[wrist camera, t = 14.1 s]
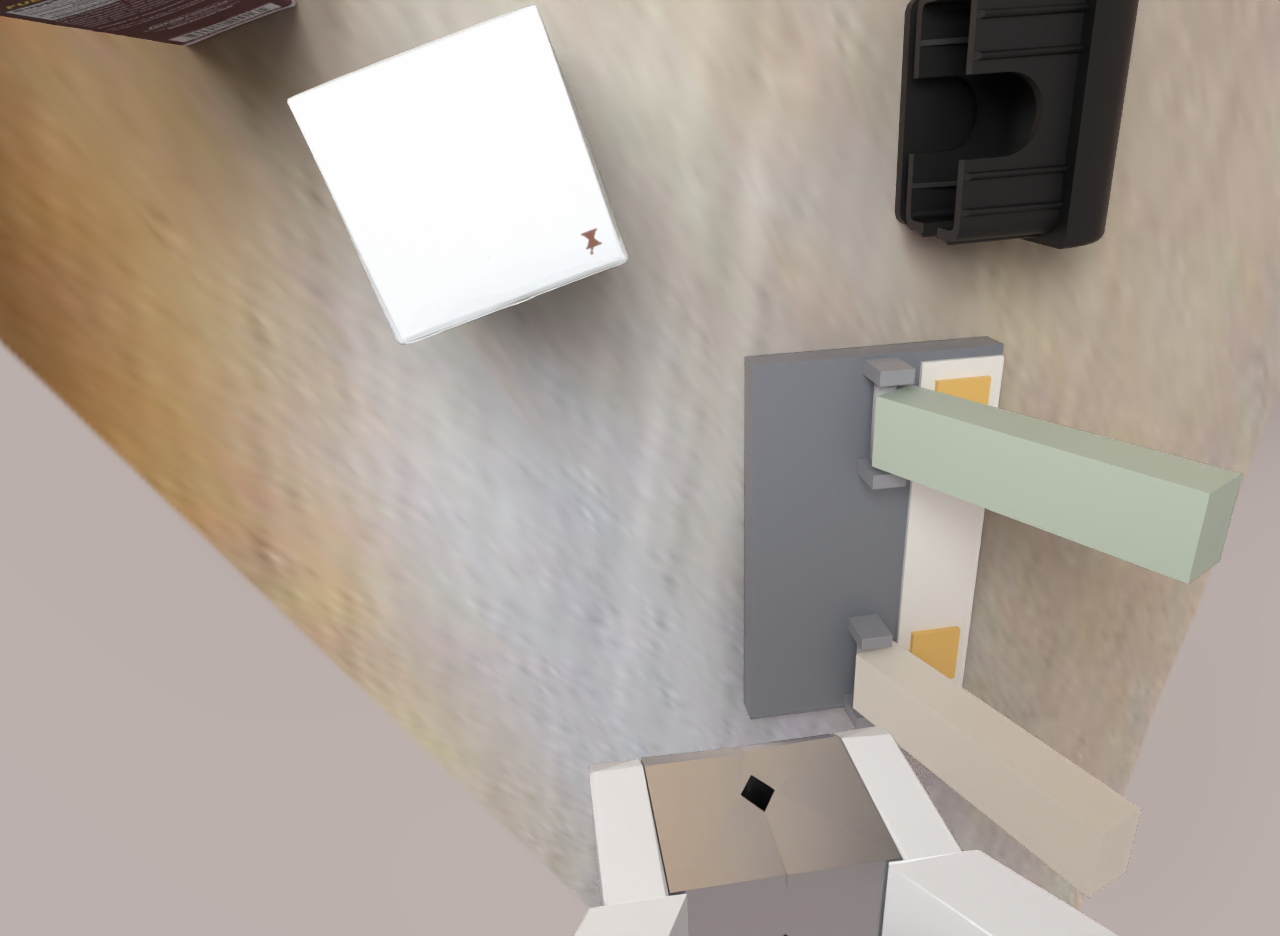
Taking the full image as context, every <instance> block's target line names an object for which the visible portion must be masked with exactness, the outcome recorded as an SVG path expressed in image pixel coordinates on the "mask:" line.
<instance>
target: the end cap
mask: <svg viewBox="0 0 1280 936" xmlns="http://www.w3.org/2000/svg"><path fill="white" fill-rule="evenodd" d="M1138 1H1139V0H911V1H910V2H909V4H908V5H907V8H906V11H905V25H904V45H903V64H902V84H901V103H900V123H899V142H898V161H897V181H896V200H895V214H896V218H897V219H898V220H899V221H900V222H901V223H905V224H907V225H908V227H909V229H911V230H913V231H917V232H918V233H919V234H920V235H921V236H922V237H929V236H937V238H939V239H942V240H943V241H944V242H945V243H946V244H947V245H955V244H965V243H976V242H987V241H997V240H1008V239H1018V238H1019V239H1023V240H1027V241H1031V242H1035V243H1039V244H1042V245H1046V246H1050V247H1054V248H1058V249H1063V248H1072V247H1078V246H1083V245H1087V244H1091V243H1093V242H1095V241H1097V240H1099V239H1100V238H1101V237H1102V236H1103V234H1104V231H1105V224H1106V217H1107V210H1108V204H1109V197H1110V190H1111V183H1112V177H1113V170H1114V163H1115V156H1116V150H1117V143H1118V136H1119V129H1120V123H1121V116H1122V109H1123V102H1124V96H1125V89H1126V82H1127V75H1128V69H1129V62H1130V55H1131V48H1132V42H1133V35H1134V28H1135V21H1136V15H1137V8H1138Z"/></svg>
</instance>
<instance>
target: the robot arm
mask: <svg viewBox="0 0 1280 936" xmlns="http://www.w3.org/2000/svg"><path fill="white" fill-rule="evenodd" d="M589 777H590V788H591V800H592V811H593V822H594V834H595V845H596V857H597V868H598V880H599V891H600V903H601V906H599V907H593V908H588V909H587V911H586V913H585V915H584V916H583V918H582V920H581V922H580V924H579V925H578V927H577V929H576V931H575V932H574V934H573V936H1119V935H1117V934H1116V933H1114V932H1112V931H1111V930H1109V929H1107V928H1106V927H1104V926H1103V925H1101V924H1099V923H1097V922H1096V921H1094V920H1093V919H1091V918H1089V917H1088V916H1086V915H1085V914H1083V913H1081V912H1080V911H1078V910H1077V909H1075V908H1073V907H1072V906H1070V905H1068V904H1067V903H1065V902H1064V901H1062V900H1060V899H1059V898H1057V897H1055V896H1054V895H1052V894H1050V893H1049V892H1047V891H1046V890H1044V889H1042V888H1041V887H1039V886H1037V885H1036V884H1034V883H1033V882H1031V881H1029V880H1028V879H1026V878H1024V877H1023V876H1021V875H1020V874H1018V873H1016V872H1015V871H1013V870H1011V869H1010V868H1008V867H1007V866H1005V865H1003V864H1002V863H1000V862H998V861H997V860H995V859H994V858H992V857H990V856H989V855H987V854H985V853H984V852H982V851H981V850H970V851H963V850H962V848H961V847H960V845H959V843H958V842H957V840H956V839H955V837H954V835H953V834H952V832H951V830H950V829H949V827H948V826H947V824H946V822H945V821H944V819H943V817H942V816H941V814H940V813H939V811H938V809H937V808H936V806H935V804H934V803H933V801H932V800H931V798H930V796H929V795H928V793H927V791H926V790H925V788H924V787H923V785H922V783H921V782H920V780H919V778H918V777H917V775H916V774H915V772H914V770H913V769H912V767H911V765H910V764H909V762H908V761H907V759H906V757H905V756H904V754H903V752H902V751H901V749H900V748H899V746H898V744H897V743H896V741H895V740H894V738H893V736H892V735H891V733H890V731H888V730H887V729H885V728H884V727H882V726H874V727H868V728H861V729H855V730H848V731H841V732H835V733H833V734H832V735H831V734H825V735H818V736H811V737H804V738H797V739H790V740H783V741H776V742H769V743H762V744H755V745H748V746H740V747H734V748H725V749H716V750H707V751H698V752H688V753H679V754H670V755H661V756H651V757H642V758H641V762H640V760H639V759H634V760H625V761H615V762H606V763H596V764H590V775H589Z"/></svg>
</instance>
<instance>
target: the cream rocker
mask: <svg viewBox="0 0 1280 936" xmlns="http://www.w3.org/2000/svg"><path fill="white" fill-rule="evenodd" d="M853 708H854V709H855V710H856V711H857V712H859V713H860V714H861V715H862V716H864V717H865V718H866V719H867V720H868V721H870V722H871V723H872V724H873V725H875V726H882V727H884V728H885V729H887V730H888V731H890V733H891V735H892V736H893V738H894V740H895V741H896V743H897V744H898V745H899V746H901V747H902V748H903V749H904V750H906V751H907V752H908V753H909V754H911V755H912V756H913V757H914V758H916V759H917V760H918V761H919V762H920V763H922V764H923V765H924V766H925V767H927V768H928V769H929V770H930V771H932V772H933V773H934V774H935V775H937V776H938V777H939V778H940V779H941V780H943V781H944V782H945V783H946V784H948V785H949V786H950V787H951V788H953V789H954V790H955V791H956V792H958V793H959V794H960V795H961V796H963V797H964V798H965V799H966V800H967V801H969V802H970V803H971V804H972V805H974V806H975V807H976V808H977V809H979V810H980V811H981V812H982V813H984V814H985V815H986V816H987V817H989V818H990V819H991V820H992V821H993V822H995V823H996V824H997V825H998V826H1000V827H1001V828H1002V829H1003V830H1005V831H1006V832H1007V833H1008V834H1010V835H1011V836H1012V837H1013V838H1015V839H1016V840H1017V841H1018V842H1019V843H1021V844H1022V845H1023V846H1024V847H1026V848H1027V849H1028V850H1029V851H1031V852H1032V853H1033V854H1034V855H1036V856H1037V857H1038V858H1039V859H1041V860H1042V861H1043V862H1044V863H1045V864H1047V865H1048V866H1049V867H1050V868H1052V869H1053V870H1054V871H1055V872H1057V873H1058V874H1059V875H1060V876H1062V877H1063V878H1064V879H1065V880H1067V881H1068V882H1069V883H1070V884H1071V885H1073V886H1074V887H1075V888H1076V889H1078V890H1079V891H1080V892H1081V893H1083V894H1084V895H1085V896H1086V897H1088V898H1089V897H1091V896H1092V895H1094V894H1095V893H1096V892H1098V891H1099V890H1101V889H1102V888H1104V887H1105V886H1107V885H1108V884H1110V883H1111V882H1112V881H1114V880H1115V879H1117V878H1118V877H1120V876H1121V875H1122V874H1124V873H1125V872H1126V871H1127V867H1128V863H1129V859H1130V855H1131V851H1132V847H1133V843H1134V839H1135V835H1136V831H1137V827H1138V823H1139V819H1140V815H1141V811H1142V809H1141V808H1140V807H1138V806H1137V805H1135V804H1134V803H1132V802H1131V801H1129V800H1128V799H1126V798H1125V797H1123V796H1122V795H1120V794H1119V793H1117V792H1116V791H1114V790H1113V789H1112V788H1110V787H1109V786H1107V785H1106V784H1104V783H1103V782H1101V781H1100V780H1098V779H1097V778H1095V777H1094V776H1092V775H1091V774H1089V773H1088V772H1086V771H1085V770H1083V769H1082V768H1080V767H1079V766H1078V765H1076V764H1075V763H1073V762H1072V761H1070V760H1069V759H1067V758H1066V757H1064V756H1063V755H1061V754H1060V753H1058V752H1057V751H1055V750H1054V749H1052V748H1051V747H1049V746H1048V745H1047V744H1045V743H1044V742H1042V741H1041V740H1039V739H1038V738H1036V737H1035V736H1033V735H1032V734H1030V733H1029V732H1027V731H1026V730H1024V729H1023V728H1021V727H1020V726H1018V725H1017V724H1015V723H1014V722H1013V721H1011V720H1010V719H1008V718H1007V717H1005V716H1004V715H1002V714H1001V713H999V712H998V711H996V710H995V709H993V708H992V707H990V706H989V705H987V704H986V703H984V702H983V701H981V700H980V699H979V698H977V697H976V696H974V695H973V694H971V693H970V692H968V691H967V690H965V689H964V688H962V687H961V686H959V685H958V684H956V683H955V682H953V681H952V680H950V679H949V678H947V677H946V676H945V675H943V674H942V673H940V672H939V671H937V670H936V669H934V668H933V667H931V666H930V665H928V664H927V663H925V662H924V661H922V660H921V659H919V658H918V657H916V656H915V655H913V654H912V653H911V652H909V651H908V650H906V649H905V648H903V647H902V646H900V645H899V644H897V643H896V642H894V641H893V640H892V647H888V648H880V649H872V650H864V651H861V649H860V648H859V646H858V645H857V654H856V667H855V682H854V697H853Z"/></svg>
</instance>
